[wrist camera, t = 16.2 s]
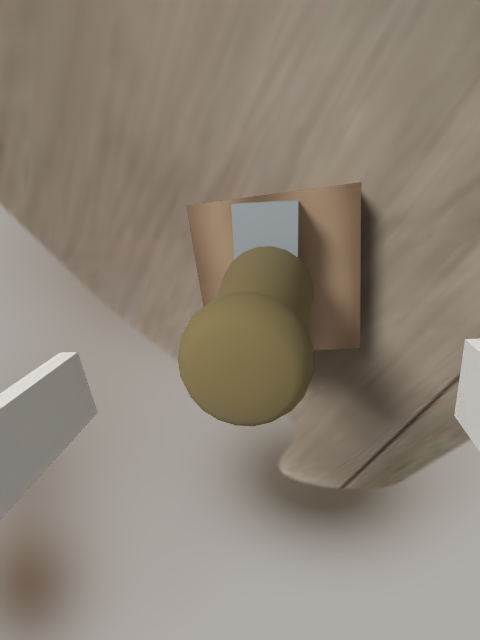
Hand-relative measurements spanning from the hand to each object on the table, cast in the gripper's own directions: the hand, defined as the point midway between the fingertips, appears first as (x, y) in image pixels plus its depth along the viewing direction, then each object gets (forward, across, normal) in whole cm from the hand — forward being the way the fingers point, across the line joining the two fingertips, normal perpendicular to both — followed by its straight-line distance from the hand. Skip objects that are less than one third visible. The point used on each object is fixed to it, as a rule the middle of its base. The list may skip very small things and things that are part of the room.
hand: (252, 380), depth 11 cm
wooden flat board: (+18, 0, 0) cm, 18 cm away
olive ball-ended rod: (+11, 0, 0) cm, 11 cm away
